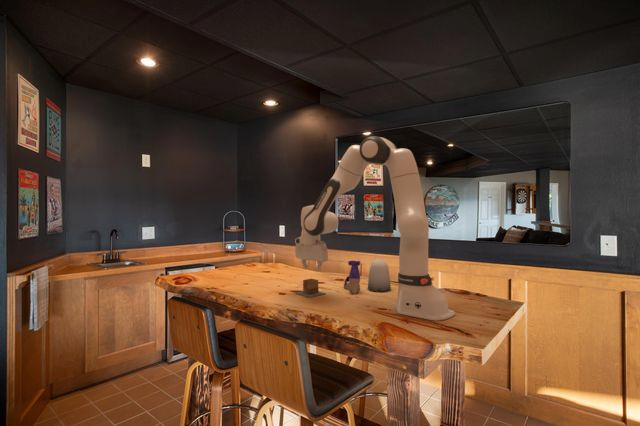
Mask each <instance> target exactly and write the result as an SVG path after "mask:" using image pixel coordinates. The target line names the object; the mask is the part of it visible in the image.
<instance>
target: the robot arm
mask: <svg viewBox="0 0 640 426" xmlns="http://www.w3.org/2000/svg"><path fill="white" fill-rule="evenodd" d="M372 164H373V165H375V166H386V168H387V169H388V173H389V179H390V183H391V190H392V194H393V201H394V207H395V208H394V209H395V216H396V217H395V218H396V222H397V223H396V225H397V229H398V232H399V234H400V238H399V239H400V240H399V254H398V255H399V256H398V258H399V262H398V263H399V265H398V266H399V267H398V268H399V269H398V275H397V282H398V291H397V292H398V293H397V299H396V303H395V306H394V309H395V310H396V312H397V314H399V315H404V316H409V317H415V318H419V319H424V320H429V321H435V322H436V321H444V320H447V319H451V318H453V317H454V316H455V311H454V310H453V309H452V310H451V309H449V303H448V299H447V297H446V296H445V295H444V294H443V293H442V292H441V291H440V290H439V289H438V288H437V287H435V285H433V282H432V281H435V276H434V277H433V276H432V277H431V275H430V274H429V234H430V233H429V229H430V228H429V223H430V222H429V219H428V217H427V212H426V207H425V206H426V205H425V200H424V195H423V189H422V184H421V178H420V173H419V168H418V165H417V162H416V159H415V156H414V154H413V152H412V151H411V150H410V149H408V148H405V147H404V148H402V147H401V148H398V147H397V146H396V144H395V143H394V142H392V141H391V140H390V139H387V138H385V137H381V136H378V135H376V136H375V135H372V136H368V137H366V138H365V139H363V140H362V141H361V143H360V144H353V145H351V146H349V147H348V148H347V150H346V151H345V153H344V154H343V156H342V158H341V160H340V161H339V163H338V166H337V168H336V170H335V172H334V174H333V175H332V177H331V178H330V179H329V180H328V182H327V183H326V184H325V186H324V188H323V189H322V191H321V193H320V195H319V197H318V198H317V200H316V202H315V203H314V204H309V205H306V206H303V207H302V209H301V213H300V226H301V233H300V236H299V237H297V238H295V240H294V243H295V246H294V247H295V249H294V251H295V252H294V253H295V257H296V259H299V260H300V261H301V264H302V269H303V270H308V269H309V264H307V261H313V262H316V264H317V265H316V267H315V272H321V270H322V269H321V268H322V266H323V263H324V262H328V261H329V251H328V247H327V243H326V242H325V241H324V240H321V235H323V234H324V235H325V234H331V233H333V232H335V231H337V229H338V228H339V221H340V220H339V217H338V215H337V214H336V213H334V212H332V211H329V210H330V209H331V206H332V205H333V203H334V202H335V200H336V199H337V198H338V197H340V196H341V195H343V194H345V193H348V192H350V191H352V190H354V189H355V188H356V187H357V186H358V185H359V183H360V181H361V180H362V176H364V172H365V171H366V169H367V168H368V167H369V165H372Z"/></svg>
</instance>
